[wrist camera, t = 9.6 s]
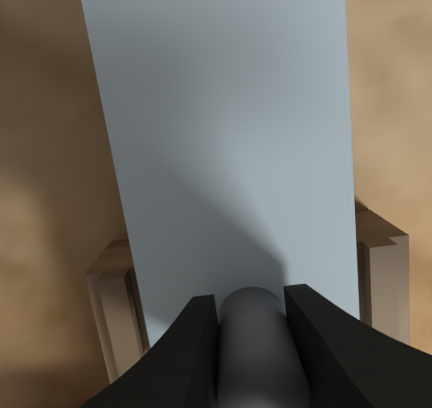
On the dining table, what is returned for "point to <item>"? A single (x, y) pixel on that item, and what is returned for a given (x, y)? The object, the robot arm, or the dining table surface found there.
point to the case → (367, 288)
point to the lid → (232, 169)
